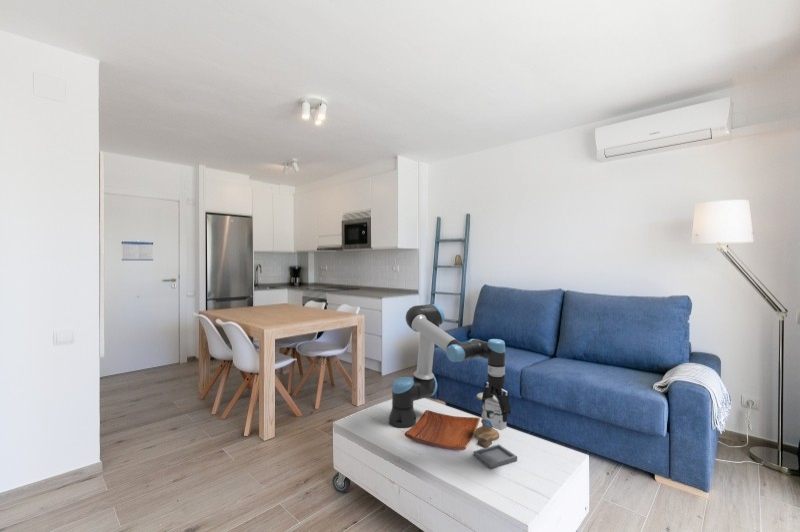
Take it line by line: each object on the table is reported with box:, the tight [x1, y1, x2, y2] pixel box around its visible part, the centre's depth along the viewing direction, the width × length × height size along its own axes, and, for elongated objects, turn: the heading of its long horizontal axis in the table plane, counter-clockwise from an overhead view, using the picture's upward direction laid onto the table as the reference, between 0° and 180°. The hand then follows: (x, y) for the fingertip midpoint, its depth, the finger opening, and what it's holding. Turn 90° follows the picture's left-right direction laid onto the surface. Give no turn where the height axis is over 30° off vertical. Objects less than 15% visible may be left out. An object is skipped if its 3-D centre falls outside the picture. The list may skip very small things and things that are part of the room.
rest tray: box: [472, 443, 518, 470], centre depth 168 cm, size 12×15×2 cm
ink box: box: [485, 397, 505, 431], centre depth 167 cm, size 8×5×12 cm, turn 47°
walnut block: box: [477, 433, 493, 448], centre depth 180 cm, size 5×5×4 cm
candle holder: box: [474, 392, 500, 441], centre depth 190 cm, size 12×12×20 cm
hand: (495, 423), depth 167 cm, fingers closed on ink box, 9 cm apart
